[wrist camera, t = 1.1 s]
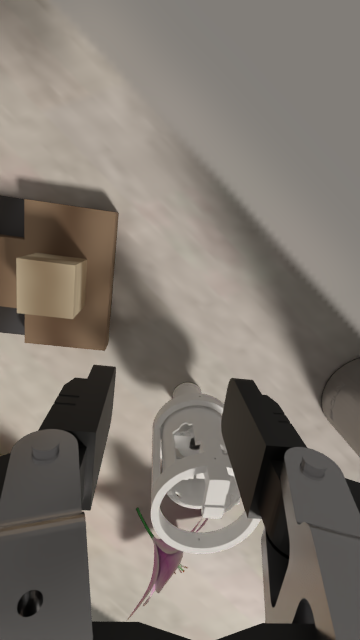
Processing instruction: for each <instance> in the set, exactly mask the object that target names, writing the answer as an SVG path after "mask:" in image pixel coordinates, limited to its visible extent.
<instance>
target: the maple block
mask: <svg viewBox="0 0 360 640" xmlns="http://www.w3.org/2000/svg"><path fill="white" fill-rule="evenodd" d="M86 274H87V259H81V258H74V257H66V256H58V255H51V254H43V253H34V254H30V255H26V256H22V257H18V258H16V277H17V313H21V314H30V315H39V316H48V317H57V318H67V319H74V317H75V316H76V315H77V314H78V313H79V312H80V311H81V309H82V308H83V307H84V306H85V293H86Z"/></svg>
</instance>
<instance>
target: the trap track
mask: <svg viewBox="0 0 360 640" xmlns="http://www.w3.org/2000/svg"><path fill="white" fill-rule="evenodd" d="M117 225H118V213H116V212H110V211H103V210H96V209H89V208H83V207H76V206H69V205H62V204H55V203H48V202H42V201H35V200H28V199H19V198H12V197H6V196H0V332H2V333H11V334H21V335H25V343H33V344H43V345H53V346H63V347H73V348H83V349H93V350H103V351H105V349H106V347H107V345H108V340H109V327H110V314H111V302H112V289H113V276H114V264H115V251H116V238H117ZM34 253H43V254H51V255H58V256H66V257H74V258H81V259H87V274H86V293H85V306H84V307H83V308H82V309H81V311H80V312H79V313H78V314H77V315H76V316H75V317H74V319H67V318H57V317H48V316H39V315H30V314H21V313H17V277H16V258H18V257H22V256H26V255H30V254H34Z"/></svg>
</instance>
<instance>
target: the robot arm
mask: <svg viewBox="0 0 360 640" xmlns="http://www.w3.org/2000/svg"><path fill="white" fill-rule="evenodd" d="M115 375H116V367H112V366H101V365H93V367H92V370H91V372H90V374H89V376H88V378H87V379H84V378H74V379H73V380H71V381H70V382H68V383H67V384H65V385H64V386H63V388H62V390H61V392H60V393H59V396H58V397H57V399H56V400H55V402H54V404H53V406H52V407H51V409H50V411H49V413H48V414H47V416H46V418H45V420H44V421H43V423H42V425H41V427H40V428H39V430H38V431H36V432H33V433H30V434H28V435H26V436H24V437H23V438H21V439H20V440H19V441H18V442H17V443H16V444H15V445H14V447H13V448H12V451H11V453H9V454H6V455H3V456H0V640H190V639H187V638H184V637H181V636H178V635H175V634H172V633H170V632H167V631H164V630H161V629H158V628H155V627H152V626H149V625H146V624H143V623H140V622H92V616H91V600H90V584H89V569H88V553H87V537H86V522H85V514H84V512H82V510H91V506H92V501H93V497H94V493H95V488H96V484H97V480H98V475H99V471H100V467H101V462H102V458H103V454H104V450H105V445H106V441H107V437H108V432H109V428H110V423H111V417H112V409H113V398H114V387H115ZM322 409H323V412H324V415H325V416H326V418H327V420H328V421H329V422H330V423H331V425H332V426H333V427H334V428H335V429H336V430H337V431H338V433H339V434H340V435H341V436H342V437H343V438H344V440H345V441H346V442H347V443H348V444H349V446H350V447H351V448H352V449H353V450H354V451H355V453H356V454H357V455H358V456H359V457H360V358H359V359H356V360H353V361H351V362H349V363H347V364H345V365H344V366H343V367H341V368H340V369H338V370H337V371H336V372H335V373H334V375H333V376H332V377H331V378H330V380H329V381H328V383H327V384H326V387H325V389H324V391H323V396H322ZM221 432H222V437H223V440H224V443H225V446H226V450H227V453H228V456H229V460H230V463H231V466H232V469H233V473H234V476H235V479H236V482H237V486H238V489H239V492H240V495H241V499H242V502H243V505H244V509H245V512H246V515H247V518H253V519H262V520H263V523H264V530H263V534H262V537H261V550H262V567H263V584H264V601H265V623H262V624H259V625H256V626H253V627H251V628H248V629H245V630H242V631H239V632H237V633H234V634H231V635H228V636H226V637H223V638H220V639H217V640H360V483H359V482H355V481H352V480H349V479H346V478H344V475H343V473H342V471H341V469H340V468H339V467H338V465H337V464H336V463H335V462H334V461H332V460H331V459H330V458H328V457H327V456H325V455H324V454H322V453H320V452H318V451H315V450H313V449H309V448H307V447H306V445H305V444H304V442H303V441H302V439H301V438H300V436H299V435H298V433H297V432H296V430H295V429H294V427H293V426H292V424H290V421H289V420H288V418H287V417H286V415H284V412H283V411H282V409H281V408H280V406H279V405H278V404H277V403H276V402H275V401H274V400H272V399H271V398H270V397H268V396H267V395H262V394H261V392H260V391H259V389H258V387H257V386H256V384H255V383H254V381H253V380H247V379H236V378H231V379H230V381H229V384H228V389H227V394H226V399H225V404H224V408H223V413H222V419H221Z"/></svg>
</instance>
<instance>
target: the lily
mask: <svg viewBox="0 0 360 640" xmlns="http://www.w3.org/2000/svg"><path fill="white" fill-rule="evenodd" d="M136 510H137V512H138V515H139V517H140V519H141V521H142V522H143V524H144V526H145V528H146V530H147V532H148V533H149V535H150V537H151V538H152V540H153V542H154V567H153V574H152V578H151V581H150V584H149V586H148V589H147V591H146V592H145V594H144V596H143V598H142V599H141V601H140V602H139V604H138V605H137V607H136V608H135V609H134V611H133V612H132V614H131V615H130V616H129V618H130V617H131V616H132V615H133V613H134V612H135V611H136V610H137V608H138V607H139V606H140V605H141V603H142V602H143V601H144V599H145V598H146V597H147V595H148V594H149V592H150V591H151V594H150V597H151V595H152V594H153V592H154V591H155V590H156V592H157V593H160V591H161V590H162V588H163V587H164V585H165V584H166V583H167V581H168V580H169V579H170V578H171V576H172V575H173V573H175V571H176V569H177V568H178V567H179V566H180V565H181V564H180V562H181V560H182V557H183V551H180V550H177V549H175V548H173V547H171V546H169V545H168V544H166V543H165V542H164V541H163V540H162V539H156V538H155V537H154V535H153V534H152V533H151V531H150V529H149V528H148V526H147V524H146V522H145V520H144V519H143V517H142V515H141V513H140V511H139V509H138V508H136ZM201 520H202V518H201ZM201 520H200V521H201ZM207 520H208V518H206V520H205V521H204V522H203V524H202V525H201V527H200V528H199V529H198V530H197V531H196V533H197V532H198V531H199V530H200V529H201V528H202V527H203V526H204V524H205V523H206V521H207ZM200 521H199V522H198V524H199V523H200ZM198 524H197V525H196V526H195V527H194V529H193V530H192V531H191V532H194V530H195V529H196V527H197V526H198ZM179 564H180V565H179ZM181 566H182V565H181ZM181 566H180V567H179V568H180V569H181V570H182V571H183V572H184V570H183V569H182V568H181ZM182 567H184V566H182ZM179 568H178V569H179ZM184 568H187V567H184ZM180 569H179V570H180ZM181 570H180V572H181ZM181 573H182V572H181ZM175 574H176V573H175ZM150 597H149V598H148V599H147V600H146V602H145V603H144V604H143V606H145V605H146V604H147V603H148V601H149V599H150ZM129 618H128V619H129ZM128 619H127V620H128Z"/></svg>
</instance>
